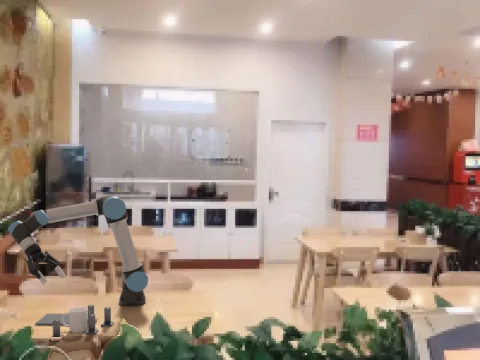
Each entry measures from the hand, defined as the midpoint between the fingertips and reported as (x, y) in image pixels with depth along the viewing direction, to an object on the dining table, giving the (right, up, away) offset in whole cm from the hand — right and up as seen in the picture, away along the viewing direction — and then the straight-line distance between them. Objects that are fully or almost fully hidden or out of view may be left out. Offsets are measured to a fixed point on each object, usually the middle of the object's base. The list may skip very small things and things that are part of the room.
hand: (54, 279), depth 254 cm
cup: (+12, -24, -6) cm, 27 cm away
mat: (0, -23, +9) cm, 24 cm away
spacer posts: (+17, -23, -6) cm, 29 cm away
